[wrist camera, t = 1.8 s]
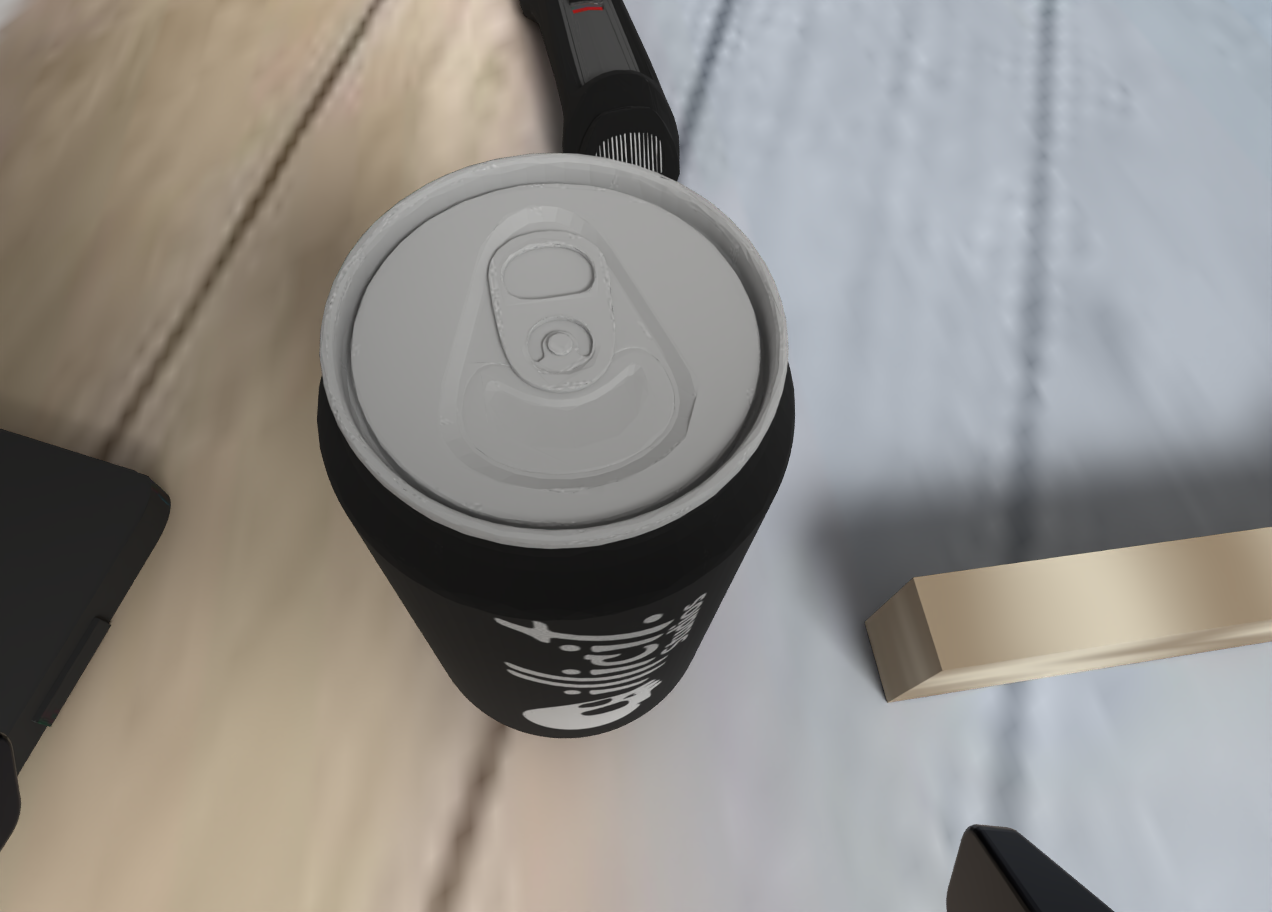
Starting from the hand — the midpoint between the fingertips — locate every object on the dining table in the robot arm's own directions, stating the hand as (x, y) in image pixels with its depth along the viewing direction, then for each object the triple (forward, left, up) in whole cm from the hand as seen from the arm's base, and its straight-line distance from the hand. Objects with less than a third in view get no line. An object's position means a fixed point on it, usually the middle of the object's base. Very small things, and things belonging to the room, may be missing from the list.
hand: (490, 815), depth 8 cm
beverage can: (+4, +4, -12) cm, 13 cm away
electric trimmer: (+18, +19, -12) cm, 29 cm away
